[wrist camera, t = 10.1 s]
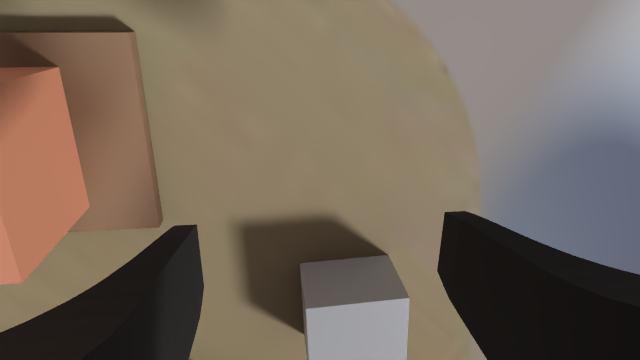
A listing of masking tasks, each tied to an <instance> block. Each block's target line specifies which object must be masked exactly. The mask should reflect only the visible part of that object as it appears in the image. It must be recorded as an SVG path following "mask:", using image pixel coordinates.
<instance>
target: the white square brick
mask: <svg viewBox="0 0 640 360" xmlns="http://www.w3.org/2000/svg"><path fill="white" fill-rule="evenodd" d="M300 274H301V290H302V306H303V321H304V336H305V345H306V353H307V360H406V355H407V337H408V318H409V300H410V298H409V296H408V294H407V292H406V290H405V288H404V286H403V284H402V282H401V280H400V278H399V276H398V274H397V271H396V269H395V267H394V265H393V263H392V261H391V259H390V257H389V255H381V256H370V257H360V258H350V259H339V260H329V261H319V262H308V263H300Z"/></svg>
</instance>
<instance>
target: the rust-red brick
mask: <svg viewBox="0 0 640 360" xmlns="http://www.w3.org/2000/svg"><path fill="white" fill-rule="evenodd" d="M89 207H90V206H89V201H88V197H87V192H86V188H85V183H84V179H83V174H82V170H81V165H80V161H79V156H78V152H77V147H76V143H75V138H74V134H73V129H72V125H71V120H70V116H69V111H68V106H67V102H66V97H65V93H64V88H63V84H62V79H61V75H60V70H59V67H4V68H0V284H14V283H23V281H24V280H25V279H26V278H27V277H28V276H29V275H30V274H31V272H32V271H33V270H34V269H35V268H36V267H37V266H38V265H39V263H40V262H41V261H42V260H43V259H44V258H45V257H46V256H47V254H48V253H49V252H50V251H51V250H52V249H53V248H54V247H55V245H56V244H57V243H58V242H59V241H60V240H61V239H62V238H63V236H64V235H65V234H66V233H67V232H68V231H69V230H70V229H71V227H72V226H73V225H74V224H75V223H76V222H77V221H78V220H79V218H80V217H81V216H82V215H83V214H84V213H85V212H86V211H87V209H88V208H89Z"/></svg>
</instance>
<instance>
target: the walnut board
mask: <svg viewBox="0 0 640 360" xmlns="http://www.w3.org/2000/svg"><path fill="white" fill-rule="evenodd" d="M4 67H59V70H60V75H61V79H62V84H63V88H64V93H65V97H66V102H67V106H68V111H69V116H70V120H71V125H72V129H73V134H74V138H75V143H76V147H77V152H78V156H79V161H80V165H81V170H82V174H83V179H84V183H85V188H86V192H87V197H88V201H89V206H90V207H89V208H88V209H87V211H86V212H85V213H84V214H83V215H82V216H81V217H80V218H79V220H78V221H77V222H76V223H75V224H74V225H73V226H72V227H71V229H70V230H69V231H68V232H78V231H98V230H118V229H138V228H158V227H160V225H161V223H162V221H163V217H162V210H161V204H160V197H159V190H158V184H157V177H156V170H155V164H154V157H153V150H152V144H151V137H150V130H149V124H148V117H147V110H146V104H145V97H144V90H143V84H142V77H141V70H140V64H139V57H138V50H137V44H136V37H135V32H0V68H4Z"/></svg>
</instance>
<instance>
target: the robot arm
mask: <svg viewBox="0 0 640 360" xmlns="http://www.w3.org/2000/svg"><path fill="white" fill-rule="evenodd" d="M437 271H438V274H439V276H440V278H441V281H442V283H443V286H444V288H445V290H446V292H447V295H448V297H449V299H450V301H451V302H452V304H453V306H454V307H455V309H456V311H457V312H458V314H459V315H460V317H461V319H462V320H463V322H464V323H465V325H466V327H467V328H468V330H469V331H470V333H471V335H472V336H473V338H474V339H475V341H476V342H477V344H478V345H479V347H480V349H481V350H482V352H483V354H484V355H485V357H486V358H487V360H640V275H639V274H634V273H630V272H626V271H622V270H619V269H615V268H612V267H608V266H605V265H601V264H598V263H595V262H592V261H589V260H585V259H583V258H579V257H576V256H573V255H571V254H568V253H565V252H562V251H560V250H557V249H555V248H552V247H550V246H547V245H545V244H542V243H540V242H537V241H535V240H532V239H530V238H528V237H525V236H523V235H520V234H519V233H516V232H514V231H512V230H510V229H507V228H505V227H502V226H501V225H498V224H496V223H494V222H492V221H489V220H487V219H485V218H482V217H480V216H477V215H475V214H472V213H469V212H466V211H459V212H445V215H444V223H443V231H442V239H441V246H440V254H439V262H438V270H437ZM203 289H204V283H203V274H202V266H201V257H200V249H199V240H198V232H197V225H181V226H173V227H172V228H170V229H169V230H168V231H166V232H165V233H164V234H163V235H161V236H160V237H159V238H158V239H157V240H155V241H154V242H153V243H152V244H151V245H149V246H148V247H147V248H146V249H144V250H143V251H142V252H141V253H139V254H138V255H137V256H136V257H134V258H133V259H132V260H130V261H129V262H128V263H126V264H125V265H123V266H122V267H121V268H119V269H118V270H116V271H115V272H114V273H112V274H111V275H109V276H108V277H107V278H105V279H104V280H102V281H101V282H99V283H98V284H96V285H94V286H93V287H91V288H90V289H88V290H86V291H84V292H83V293H81V294H79V295H78V296H76V297H74V298H72V299H71V300H69V301H67V302H65V303H63V304H61V305H59V306H57V307H55V308H53V309H51V310H49V311H47V312H45V313H43V314H41V315H39V316H37V317H35V318H33V319H31V320H29V321H26V322H24V323H22V324H20V325H17V326H15V327H13V328H10V329H8V330H6V331H3V332H1V333H0V360H188V359H189V356H190V352H191V348H192V345H193V341H194V337H195V334H196V330H197V326H198V322H199V319H200V313H201V306H202V298H203Z"/></svg>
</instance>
